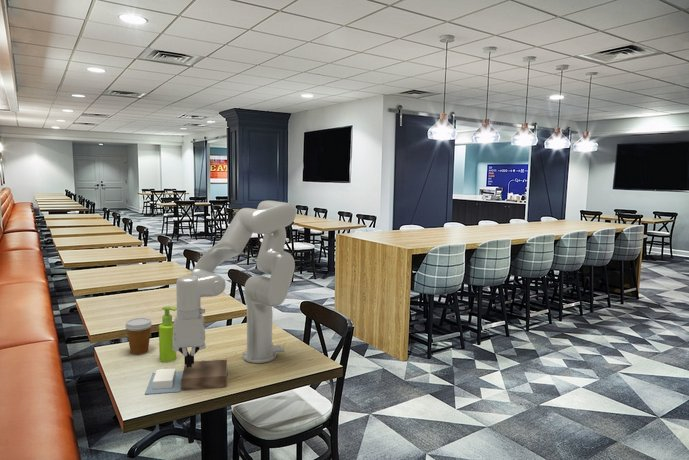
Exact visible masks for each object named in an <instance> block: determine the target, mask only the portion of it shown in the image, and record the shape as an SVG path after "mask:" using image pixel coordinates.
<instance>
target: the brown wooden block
mask: <svg viewBox="0 0 689 460" xmlns="http://www.w3.org/2000/svg"><path fill="white" fill-rule="evenodd" d="M182 371H183V375H182V379H181V381H182V384H181V391H193V390H206V389H207V390H208V389H220V388H227V379H228V378H227V377H228V375H227V374H228V373H227V372H228V361H227V359H214V360H211V359H210V360H199V361H196V360H194V364H192V367H191V368H190V367H188V368H187V367H186V364H184V366H183V370H182Z"/></svg>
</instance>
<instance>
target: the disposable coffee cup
mask: <svg viewBox="0 0 689 460" xmlns="http://www.w3.org/2000/svg"><path fill="white" fill-rule="evenodd" d="M152 325H153V322H152V321H151V318H147V317H137V318H131V319H129V320H127V321H126V324H125V325H124V327H125V329H126V334H127V338H128V345H129V350H130V353H131V354H132V355H138V356H139V355H143V354H146V353H148V352H149V348H150V339H151V330H152V329H151V328H152Z"/></svg>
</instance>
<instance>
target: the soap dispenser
mask: <svg viewBox="0 0 689 460" xmlns="http://www.w3.org/2000/svg"><path fill="white" fill-rule="evenodd" d="M161 310H164V314H163V315H162V318H161V321H162V323H160V324H159V325H158V340H159V345H158V347H159V361H160V362H162V363H169V362H174V361H176V360H177V351H174V350H172V347H173V326H174V322H173V315H172V314H170V311H174V312H177V307H174V306H164V307H162V308H161Z"/></svg>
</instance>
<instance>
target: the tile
mask: <svg viewBox="0 0 689 460" xmlns="http://www.w3.org/2000/svg"><path fill="white" fill-rule="evenodd" d="M176 372H177V371H176V368H164V369H161V368H160V369H156V371H155V373H156V374H155V376H154V379H153V389H160V388H172V387H173V384H174V380H175V376H176Z"/></svg>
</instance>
